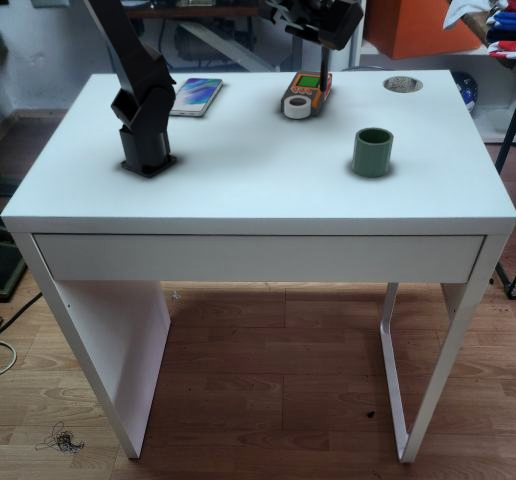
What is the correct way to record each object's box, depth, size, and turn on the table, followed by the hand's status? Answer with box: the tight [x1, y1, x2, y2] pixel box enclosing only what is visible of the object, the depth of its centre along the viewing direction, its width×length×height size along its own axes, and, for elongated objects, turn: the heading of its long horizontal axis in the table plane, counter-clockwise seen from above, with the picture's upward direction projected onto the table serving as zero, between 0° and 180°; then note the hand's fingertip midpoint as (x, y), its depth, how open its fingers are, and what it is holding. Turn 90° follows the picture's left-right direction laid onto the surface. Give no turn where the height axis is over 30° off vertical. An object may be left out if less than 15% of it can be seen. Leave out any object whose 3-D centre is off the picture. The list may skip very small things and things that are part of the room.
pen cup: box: [351, 126, 395, 178], centre depth 74 cm, size 5×5×5 cm
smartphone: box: [169, 77, 224, 117], centre depth 94 cm, size 7×1×15 cm
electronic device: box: [280, 69, 333, 120], centre depth 91 cm, size 7×3×15 cm
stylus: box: [319, 0, 334, 92], centre depth 84 cm, size 2×2×14 cm
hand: (331, 46), depth 84 cm, fingers closed on stylus, 1 cm apart
